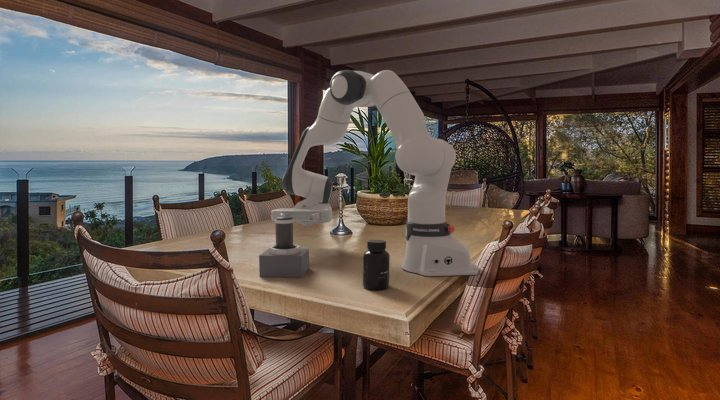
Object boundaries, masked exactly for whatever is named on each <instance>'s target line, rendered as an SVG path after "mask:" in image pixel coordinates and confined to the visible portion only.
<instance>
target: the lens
mask: <svg viewBox="0 0 720 400" xmlns="http://www.w3.org/2000/svg"><path fill="white" fill-rule="evenodd" d="M274 223H275V225H274V226H275V245H276V249H292V248H293V244H294V221H293V217H287V216H284V217H275V221H274Z"/></svg>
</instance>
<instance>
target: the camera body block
mask: <svg viewBox="0 0 720 400" xmlns="http://www.w3.org/2000/svg"><path fill="white" fill-rule="evenodd" d="M258 262H259V263H258V266H259V269H258V271H259V273H258V274H259V277H266V278H268V277H269V278H271V277H272V278H303V277H304V275H305V274H306V272H308V270H309V269H310V248H301V245H298V244H294V243H293V248H292V249H276V244H274V245H270V247H269V248H268V249H267V250H265V251H262V253H261V254H259V255H258Z"/></svg>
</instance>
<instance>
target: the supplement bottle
mask: <svg viewBox="0 0 720 400" xmlns="http://www.w3.org/2000/svg"><path fill="white" fill-rule="evenodd" d="M366 249H367V250H366V251H364V253H363V254H362V255H363V257H362V285H363V288H364V289H366V290H369V291H383V290H387V289H388V288H389V287H390V266H391V265H390V264H391V263H390V262H391V260H390V259H391V256H390V253H389V252H388V251H387V250H386V249H387V241H386V240H384V239H369V240H367V243H366Z"/></svg>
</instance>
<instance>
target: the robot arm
mask: <svg viewBox="0 0 720 400" xmlns="http://www.w3.org/2000/svg"><path fill="white" fill-rule="evenodd" d="M356 107H358V108H375V107H376V109H377V110H378V112H379V113H380V116H381V117H382V119H383V121H384V122H385V124H386V126H387V128H388V130H389V131H390V133H391V136H392V139H393V142H394V145H395V149H396V151H395V153H394V154H395V157H394V158H395V162H396V165H397V167H398V168H399V170H401V171H402V172H404V173H406V174H408V175H411V176H415V177H414V182H413V185H412V188H411V189H410V191H409V193H408V196H407V220H406V223H405V239H406V245H405V251H404V252H405V253H404V258H403V261H402V264H401V268H402V269H403V270H405V271H407V272H410V273H414V274H418V275H421V276H423V277H446V276H451V277H452V276H475V275H478V274H479V271H480V270H479V267H478V265H477V264H476V263H474V262H472V258H471V257H472V256H471V253H470V250H469V249H468V247H467V246H466V245H465V244H463V243H462V241H460V240H458V239H457V238H456V237H455V236H453V235H452V233H454V232H455V231H456V227H455V226H454V225H453V224H450V223H448V222H446V203H447V193H448V192H447V190H448V185H449V181H450V177H451V173H452V169H453V166H454V165H455V163H456V160H457V153H456V150H455V148H454V147H453V145H452V144H451V143H449V142H447V141H446V140H445V139H442V138H437V137H436V138H433V137H432V136H431V135H430V134H429V132H428V130H427V127H426V124H425V120H424V119H425V115H424V112H423V111H422V109H421V107H420V106H419V104H418V103H417V101H416V99H415V97H414V96H413V94H412V93H411V91H410V89H409V88H408V87H407V85H406V84H405V82H404V81H403V80H402V79H401V77H399V76H398V75H397V73H395V71H392V70H390V69H385V70H381V71H378V72H377V73H376V74H373V73H369V72H365V71H361V70H351V69H344V70H338V71H337V72H335V74H334V75H333V76H332V77H331V79H330V83H329V87H328V88H327V89H326V90H325V92H324V95H323V97H322V100H321V103H320V106H319V108H318V114H317V117H316V119H315V120H314V123H313V124H312V125H309V126H307V127H306V128H305V129H304V130H303V132H302V134H301V136H300V138H299V140H298V142H297V145H296V147H295V150H294V152H293V154H292V158H291V160H290V162H289V164H288V166H287V169H286V171H285V172H284V174H283V176H282V180H281V186H282V188H283V190H284V191H285V192H286V193H287V194H290V195H294V196H299V197H303V198H305V199H303V200H300V201H298V202H297V203H296V204H295V205H294V207H292V208H291V207H290V208H286V207H285V208H283V207H282V208H276V209H272V210H271V211H270V218H271V219H270V220H271V221H273V222H275V217H284V216H287V217H293V222H296V223H297V224H299V225H301V226H304V227H306V226H311V225H316V224H321V223H330V222H331V221H332V220H333V209H332V206H331V203H330V202H331V199H332V195H333V192H334V191H333V190H334V184H333V182H332V179H331V178H330V176H326V175H323V174H320V173H315V172H312V171H309V170H306V169H304V168H303V167H302V166H303V163H304V161H305V158H306V156H307V154H308V151H309V150H310V148H312V147H315V146H321V145H322V146H323V145H325V146H326V145H332V144H335V143H338V142H340V141H341V140H343V139H344V137H345V135H346V133H347V131H348V128H349V124H350V120H351V116H352V113H353V110H354V109H355V108H356ZM475 264H476V265H477V266H476V265H475Z"/></svg>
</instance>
